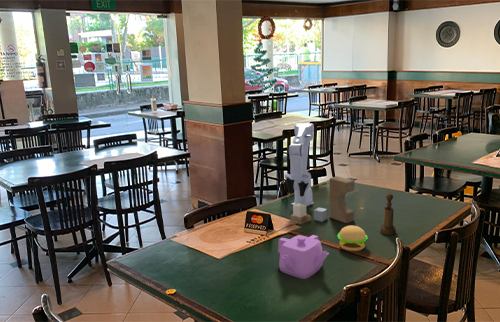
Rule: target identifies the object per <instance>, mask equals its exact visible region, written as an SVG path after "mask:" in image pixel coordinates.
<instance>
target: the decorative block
mask: <svg viewBox="0 0 500 322" xmlns="http://www.w3.org/2000/svg"><path fill="white" fill-rule="evenodd" d="M355 185H356V184H355V180H354V179H348V178H345V177H341V176H333V177H331V178H329V196H328V197H329V201H328V203H329V204H328V205H329V211H328V212H329V213H328V215H329V218H330V219H333V220H335V221H338V222H341V223H344V224H349V223H351V222H354V220H355V219H354V214H355V211H354V210H352V209H350V208H349V207H348V205H347V203H346V195H347V193H350V192H354V191H355Z"/></svg>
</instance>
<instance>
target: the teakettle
mask: <svg viewBox="0 0 500 322" xmlns="http://www.w3.org/2000/svg"><path fill="white" fill-rule="evenodd" d="M277 253H278V254H279V259H278V260H279V262H278V263H279V265H278V266H279V270H280V272H282V273H284V274H287V275H289V276H291V277H295V278H298V279H300V280H306V279H308V278H310V277H312V276H314V275H315V274H316V273H317V272H318V271H319V270H321V268H322V266H323V264H324V261H325V259H326V258H327V257H328V256H329V254H330V252H328V251H326V250H323V247H322V242H321V241H320V240H319V236H318V235H315V234H312V235H309V236H304V235H301V234H298V235H295V236H293V237H292V238H285V237H281V238H279V239H278V247H277Z"/></svg>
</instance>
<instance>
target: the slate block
mask: <svg viewBox="0 0 500 322" xmlns="http://www.w3.org/2000/svg"><path fill="white" fill-rule="evenodd" d="M327 219H328V209H327V208H323V207H317V208H315V209H314V210H313V220H314V221H318V222H324V221H326V220H327Z"/></svg>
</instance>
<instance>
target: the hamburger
mask: <svg viewBox="0 0 500 322" xmlns="http://www.w3.org/2000/svg"><path fill="white" fill-rule="evenodd" d="M337 239H338V240H339V245H340V247H341V248H342V249H343V250H346V251H348V252H359V251H361V250H364V248H365V246H366V241H367V240H368V235H367V234H366V232H365V230H364V229H362V228H361V227H359V226H358V225H346V226H344V227H342V228H341V230H340V231H339V232H338V233H337Z"/></svg>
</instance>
